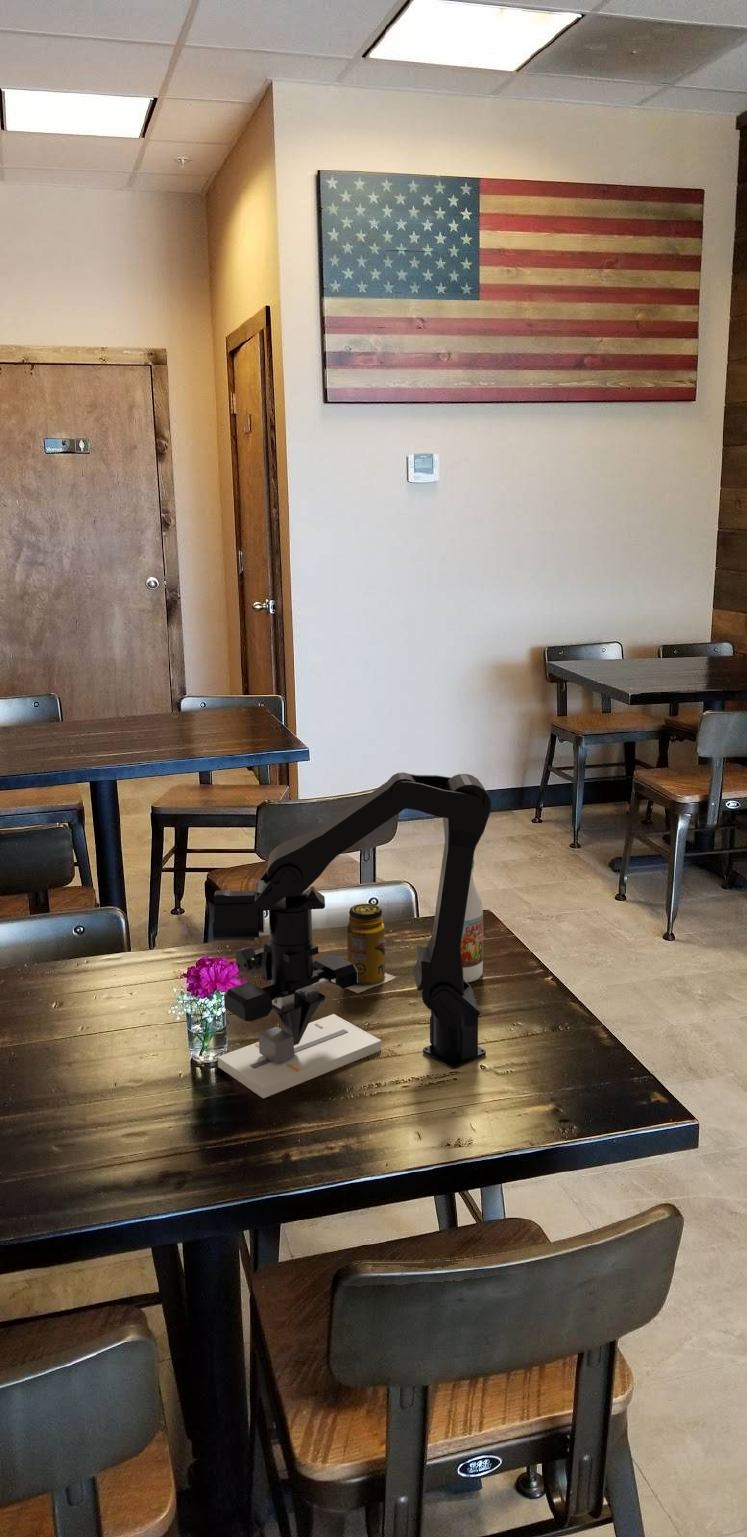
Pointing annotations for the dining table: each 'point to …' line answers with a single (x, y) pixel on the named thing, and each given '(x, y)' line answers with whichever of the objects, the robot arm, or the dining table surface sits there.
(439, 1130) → the dining table surface
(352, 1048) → the console
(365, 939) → the condiment
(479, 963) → the milk bottle
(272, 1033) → the fader
